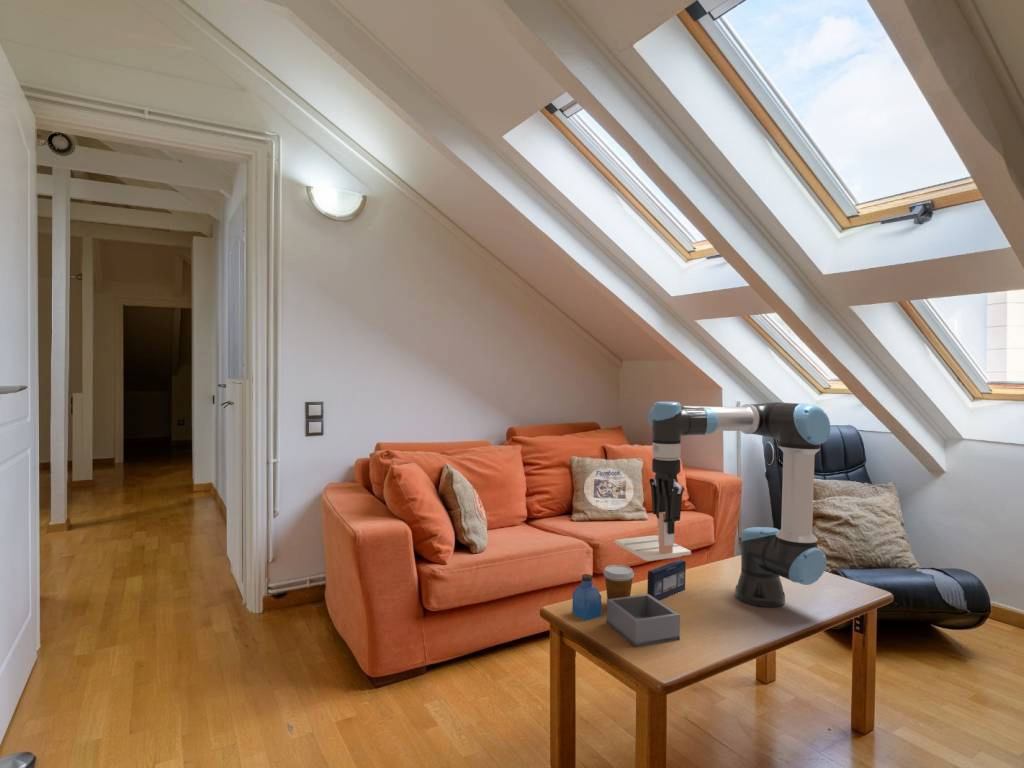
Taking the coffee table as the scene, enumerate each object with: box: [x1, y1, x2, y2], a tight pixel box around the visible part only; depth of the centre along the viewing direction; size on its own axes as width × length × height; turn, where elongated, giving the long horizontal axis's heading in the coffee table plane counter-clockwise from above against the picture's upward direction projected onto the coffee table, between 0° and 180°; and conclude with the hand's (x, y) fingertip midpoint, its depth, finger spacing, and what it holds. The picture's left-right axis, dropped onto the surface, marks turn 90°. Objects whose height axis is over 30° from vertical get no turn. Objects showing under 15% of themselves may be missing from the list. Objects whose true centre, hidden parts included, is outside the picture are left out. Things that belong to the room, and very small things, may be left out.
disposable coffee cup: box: [603, 564, 635, 600], centre depth 183 cm, size 10×10×12 cm
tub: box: [606, 593, 681, 648], centre depth 167 cm, size 14×16×7 cm
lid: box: [614, 512, 692, 562], centre depth 167 cm, size 15×17×13 cm
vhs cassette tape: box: [646, 559, 687, 601], centre depth 194 cm, size 18×3×10 cm, turn 129°
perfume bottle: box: [571, 573, 602, 622], centre depth 177 cm, size 6×6×12 cm
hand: (665, 543), depth 160 cm, fingers closed on lid, 2 cm apart
